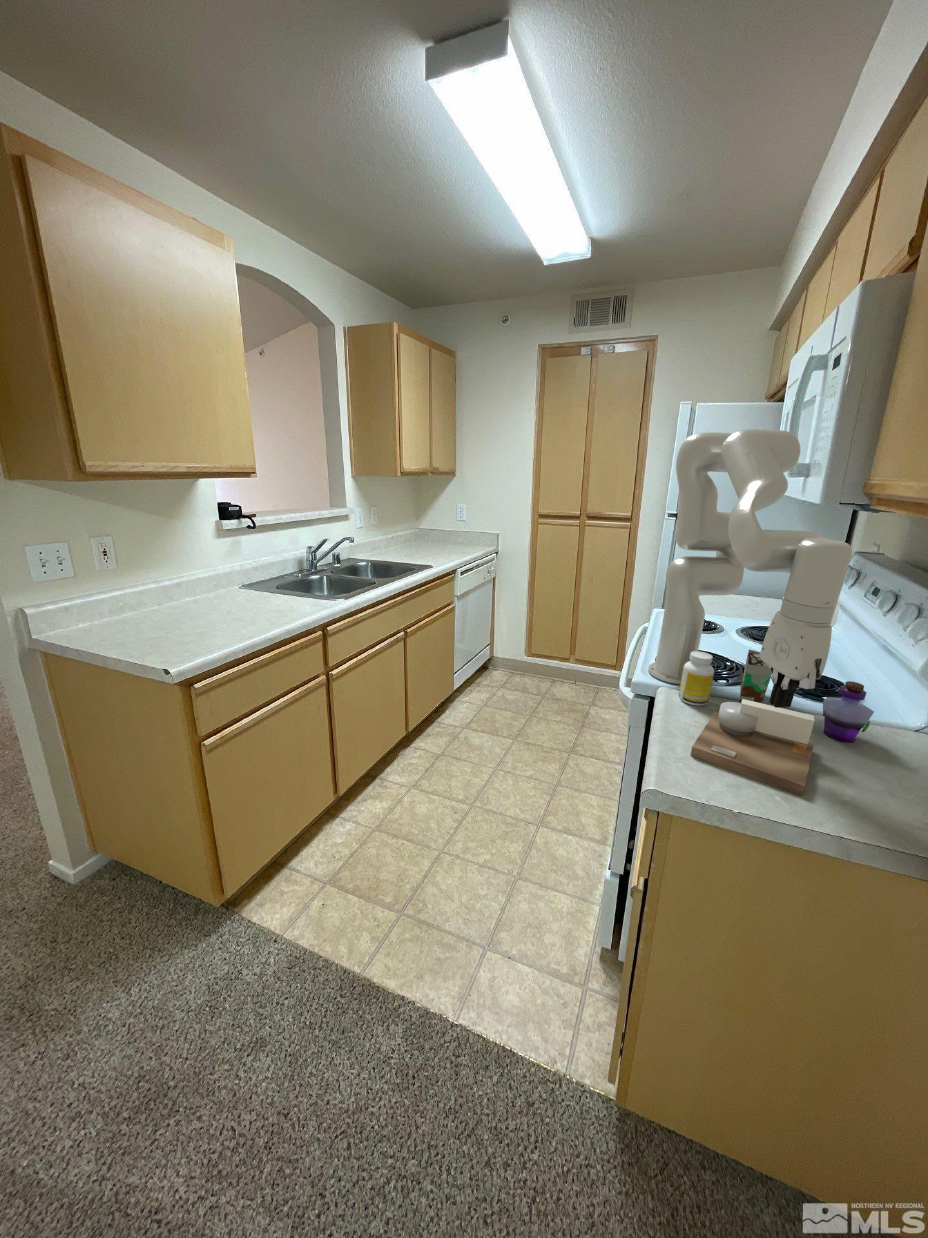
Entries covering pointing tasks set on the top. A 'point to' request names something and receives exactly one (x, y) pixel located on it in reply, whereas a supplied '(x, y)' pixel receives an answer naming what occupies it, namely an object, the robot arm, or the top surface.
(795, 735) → the white bar with knob
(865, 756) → the top surface
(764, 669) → the food container
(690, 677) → the pill bottle
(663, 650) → the robot arm
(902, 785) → the top surface
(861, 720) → the potion bottle
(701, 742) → the post base
